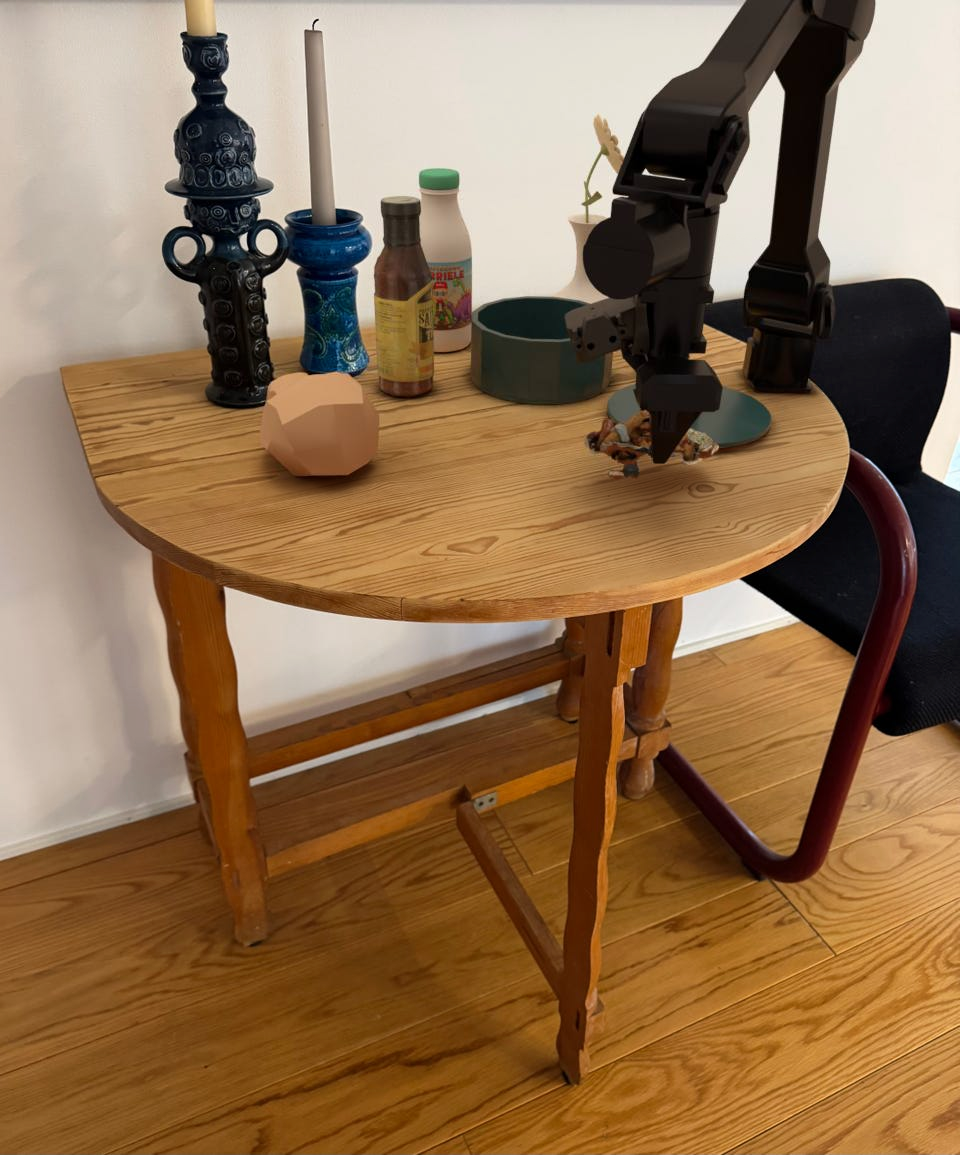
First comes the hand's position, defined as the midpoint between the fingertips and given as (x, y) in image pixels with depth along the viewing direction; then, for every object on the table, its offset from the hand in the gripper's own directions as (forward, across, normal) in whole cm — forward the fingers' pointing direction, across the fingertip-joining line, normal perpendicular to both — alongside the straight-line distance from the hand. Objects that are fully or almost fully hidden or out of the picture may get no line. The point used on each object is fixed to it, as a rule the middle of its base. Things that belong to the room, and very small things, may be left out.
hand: (653, 446), depth 85 cm
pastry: (+1, -1, 0) cm, 1 cm away
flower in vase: (+4, -44, -3) cm, 44 cm away
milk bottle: (+4, -37, -21) cm, 43 cm away
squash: (+4, -6, -32) cm, 33 cm away
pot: (+4, -26, -9) cm, 28 cm away
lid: (+3, -15, +6) cm, 16 cm away
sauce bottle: (+4, -22, -24) cm, 33 cm away
